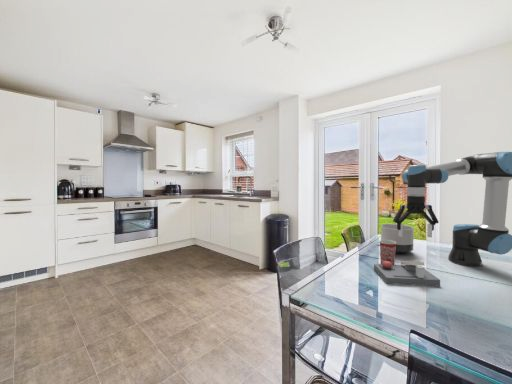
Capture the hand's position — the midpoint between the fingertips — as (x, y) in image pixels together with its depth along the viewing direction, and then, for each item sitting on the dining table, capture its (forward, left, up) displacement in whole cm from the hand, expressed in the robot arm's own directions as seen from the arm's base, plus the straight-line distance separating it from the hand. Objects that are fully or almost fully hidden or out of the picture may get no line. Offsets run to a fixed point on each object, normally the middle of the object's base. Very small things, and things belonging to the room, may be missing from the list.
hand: (414, 236), depth 119 cm
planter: (-9, -43, -22) cm, 50 cm away
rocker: (-1, -4, -16) cm, 16 cm away
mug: (+4, -21, -22) cm, 31 cm away
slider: (0, +6, -19) cm, 20 cm away
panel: (+4, -1, -22) cm, 22 cm away
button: (+11, -5, -18) cm, 22 cm away
